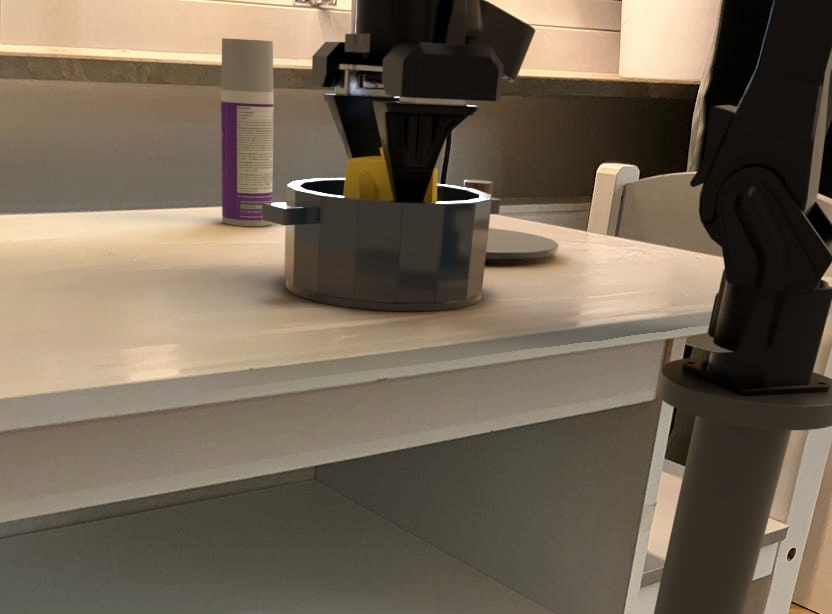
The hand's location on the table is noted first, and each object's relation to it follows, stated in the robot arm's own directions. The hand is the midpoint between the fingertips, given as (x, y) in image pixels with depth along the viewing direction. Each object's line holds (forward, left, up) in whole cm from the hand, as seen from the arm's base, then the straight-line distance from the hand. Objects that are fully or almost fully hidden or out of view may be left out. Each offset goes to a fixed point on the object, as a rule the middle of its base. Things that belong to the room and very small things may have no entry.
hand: (389, 215), depth 71 cm
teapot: (-1, 0, -1) cm, 1 cm away
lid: (+16, -14, -4) cm, 22 cm away
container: (+32, +2, -5) cm, 33 cm away
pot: (0, 0, -5) cm, 5 cm away
